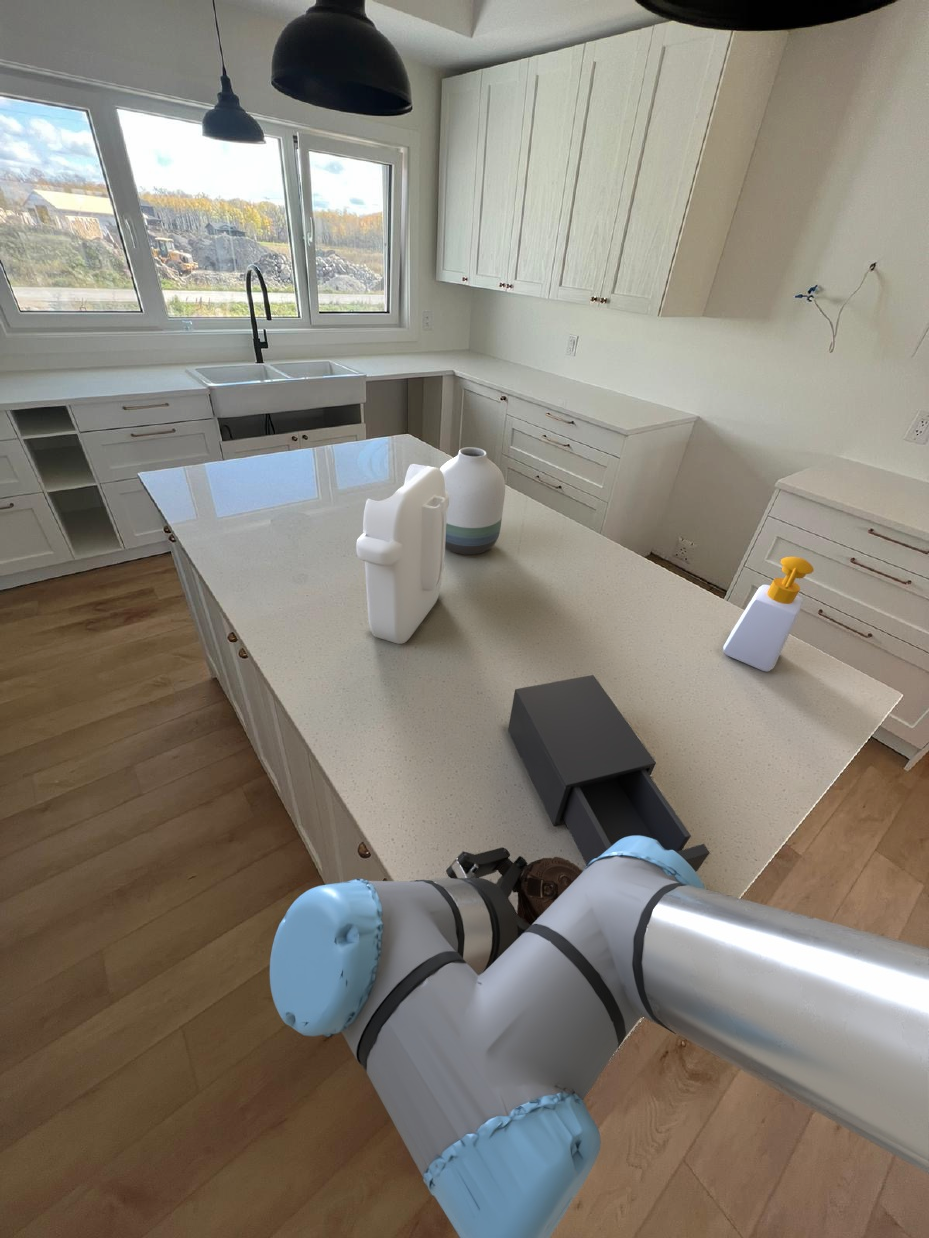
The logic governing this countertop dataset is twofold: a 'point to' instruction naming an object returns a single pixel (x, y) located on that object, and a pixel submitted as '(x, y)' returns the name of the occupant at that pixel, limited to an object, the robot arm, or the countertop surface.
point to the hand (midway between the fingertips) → (569, 912)
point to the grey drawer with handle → (625, 817)
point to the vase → (473, 501)
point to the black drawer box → (572, 738)
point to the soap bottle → (768, 618)
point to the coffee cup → (543, 885)
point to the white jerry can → (404, 553)
